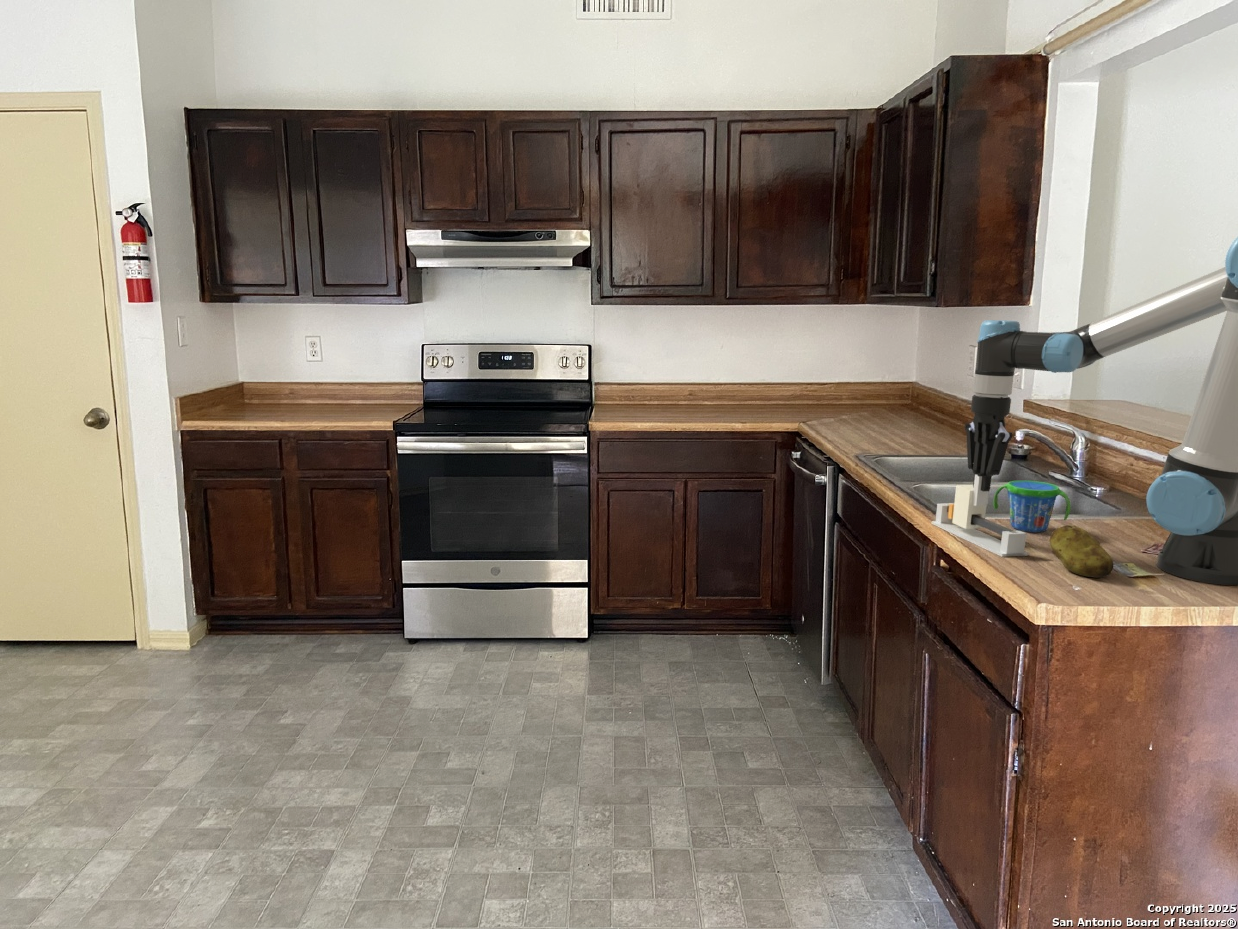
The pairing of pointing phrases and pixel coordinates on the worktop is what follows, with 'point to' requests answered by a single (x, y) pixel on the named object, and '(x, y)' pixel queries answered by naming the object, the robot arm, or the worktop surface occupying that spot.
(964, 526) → the tall cream pillar
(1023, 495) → the snack cup
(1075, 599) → the worktop surface
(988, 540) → the sliding block rail
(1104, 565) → the potato
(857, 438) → the worktop surface
